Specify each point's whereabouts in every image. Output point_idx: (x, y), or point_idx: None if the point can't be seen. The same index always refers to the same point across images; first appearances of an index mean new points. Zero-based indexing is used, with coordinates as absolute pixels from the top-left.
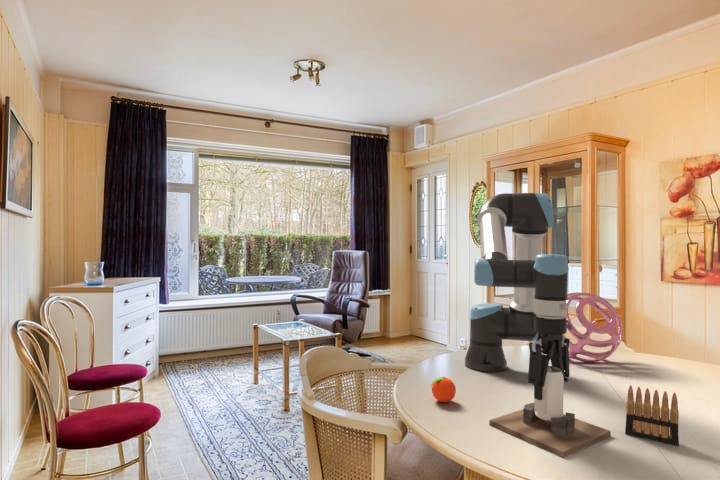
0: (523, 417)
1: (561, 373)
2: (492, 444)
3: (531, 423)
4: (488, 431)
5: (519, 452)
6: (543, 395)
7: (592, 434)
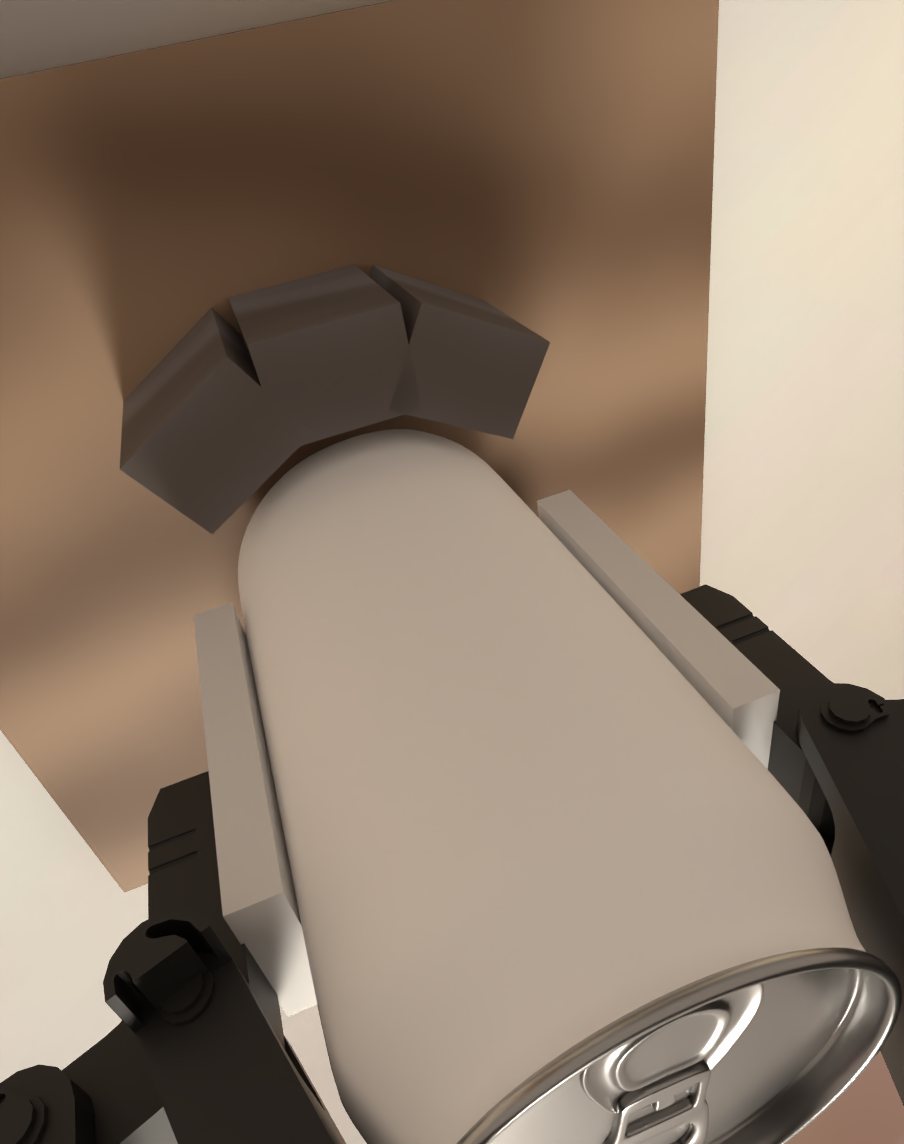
0: None
1: (546, 990)
2: (896, 388)
3: None
4: (759, 562)
5: (873, 213)
6: (696, 620)
7: (9, 173)
